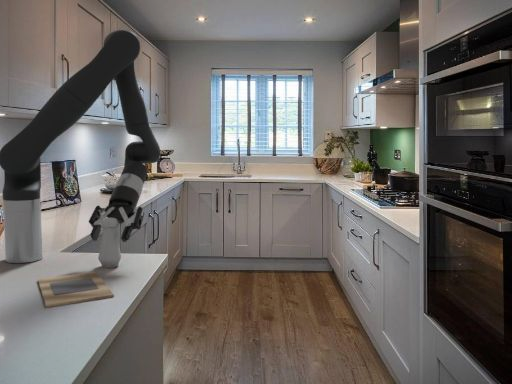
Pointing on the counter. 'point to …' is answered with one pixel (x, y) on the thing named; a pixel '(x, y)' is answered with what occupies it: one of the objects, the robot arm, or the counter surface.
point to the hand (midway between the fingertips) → (108, 239)
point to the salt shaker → (109, 244)
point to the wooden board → (73, 289)
